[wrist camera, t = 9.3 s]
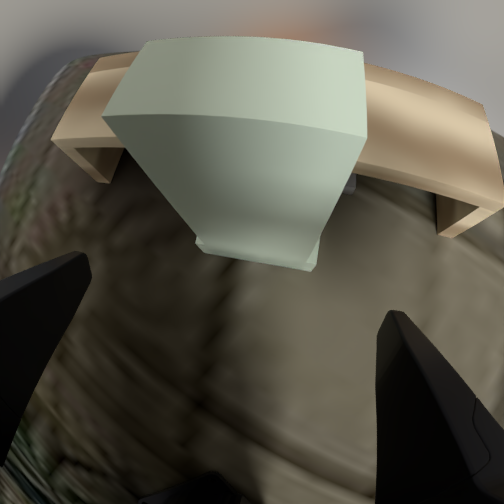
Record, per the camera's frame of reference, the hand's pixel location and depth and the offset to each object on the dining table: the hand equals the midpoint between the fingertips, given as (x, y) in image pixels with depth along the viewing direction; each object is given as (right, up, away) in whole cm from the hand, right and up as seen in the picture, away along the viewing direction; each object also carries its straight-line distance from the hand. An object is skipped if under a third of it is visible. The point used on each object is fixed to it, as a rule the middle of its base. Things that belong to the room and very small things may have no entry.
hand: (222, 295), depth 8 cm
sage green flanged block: (+2, +4, +9) cm, 10 cm away
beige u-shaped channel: (+2, +7, +10) cm, 12 cm away
